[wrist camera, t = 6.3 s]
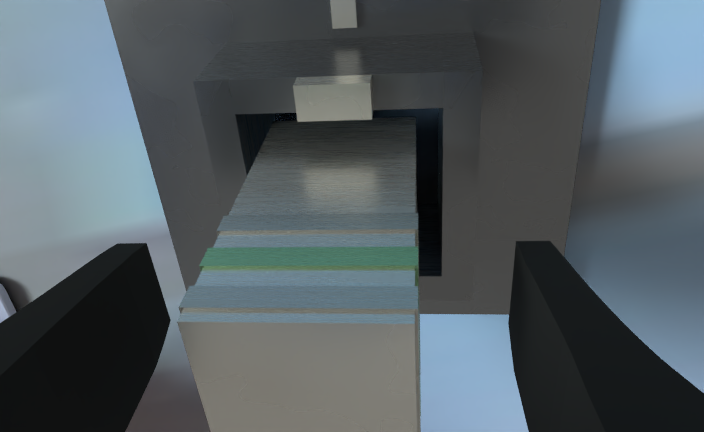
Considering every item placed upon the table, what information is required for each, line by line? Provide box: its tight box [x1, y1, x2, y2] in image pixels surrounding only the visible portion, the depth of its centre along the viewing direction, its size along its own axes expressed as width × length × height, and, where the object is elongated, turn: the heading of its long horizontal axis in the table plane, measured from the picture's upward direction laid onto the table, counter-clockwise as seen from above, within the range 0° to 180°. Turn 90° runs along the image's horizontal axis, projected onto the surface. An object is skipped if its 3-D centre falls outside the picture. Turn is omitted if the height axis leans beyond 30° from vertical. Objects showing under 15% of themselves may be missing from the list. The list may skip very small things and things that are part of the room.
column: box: [177, 117, 421, 432], centre depth 12 cm, size 4×4×7 cm
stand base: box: [104, 0, 601, 314], centre depth 16 cm, size 12×12×4 cm
